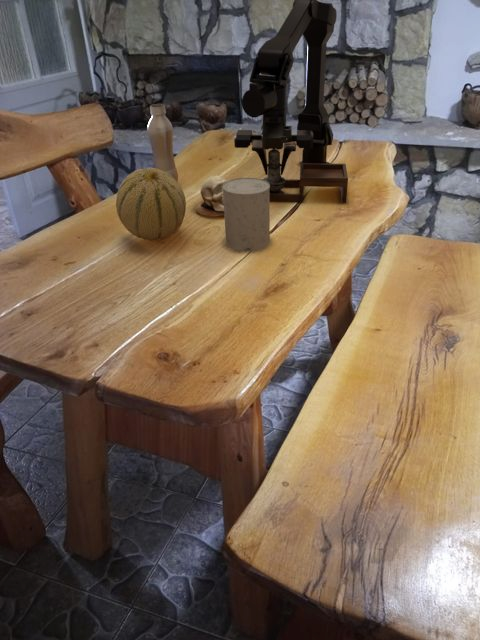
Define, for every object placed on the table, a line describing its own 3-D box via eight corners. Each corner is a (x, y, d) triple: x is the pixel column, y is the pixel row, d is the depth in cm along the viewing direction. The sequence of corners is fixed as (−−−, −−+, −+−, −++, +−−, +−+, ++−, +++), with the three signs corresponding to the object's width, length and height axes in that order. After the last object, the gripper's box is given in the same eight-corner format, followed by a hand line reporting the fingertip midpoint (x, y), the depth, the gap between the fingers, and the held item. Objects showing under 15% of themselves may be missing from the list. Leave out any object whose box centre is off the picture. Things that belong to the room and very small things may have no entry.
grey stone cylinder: (254, 255, 112) (253, 197, 105) (216, 245, 116) (212, 188, 109) (278, 238, 118) (278, 182, 111) (241, 229, 123) (239, 174, 115)
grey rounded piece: (261, 190, 142) (260, 142, 135) (284, 189, 142) (284, 141, 135) (263, 198, 137) (263, 149, 130) (287, 197, 138) (287, 148, 131)
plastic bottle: (181, 182, 148) (173, 102, 136) (175, 191, 142) (167, 109, 130) (158, 181, 148) (148, 102, 136) (151, 190, 143) (140, 108, 131)
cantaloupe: (149, 218, 128) (140, 153, 119) (202, 230, 122) (196, 162, 113) (106, 243, 117) (93, 173, 109) (162, 257, 112) (152, 185, 103)
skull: (258, 204, 131) (235, 179, 123) (233, 239, 132) (208, 217, 124) (229, 189, 139) (204, 164, 131) (205, 222, 139) (179, 200, 131)
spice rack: (343, 187, 143) (345, 163, 140) (346, 203, 134) (348, 178, 131) (256, 186, 145) (255, 162, 141) (252, 201, 136) (252, 177, 132)
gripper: (230, 116, 122) (233, 185, 131) (314, 116, 121) (311, 186, 130) (235, 104, 131) (238, 170, 140) (314, 104, 130) (311, 170, 139)
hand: (274, 174), depth 137 cm, fingers closed on grey rounded piece, 3 cm apart
